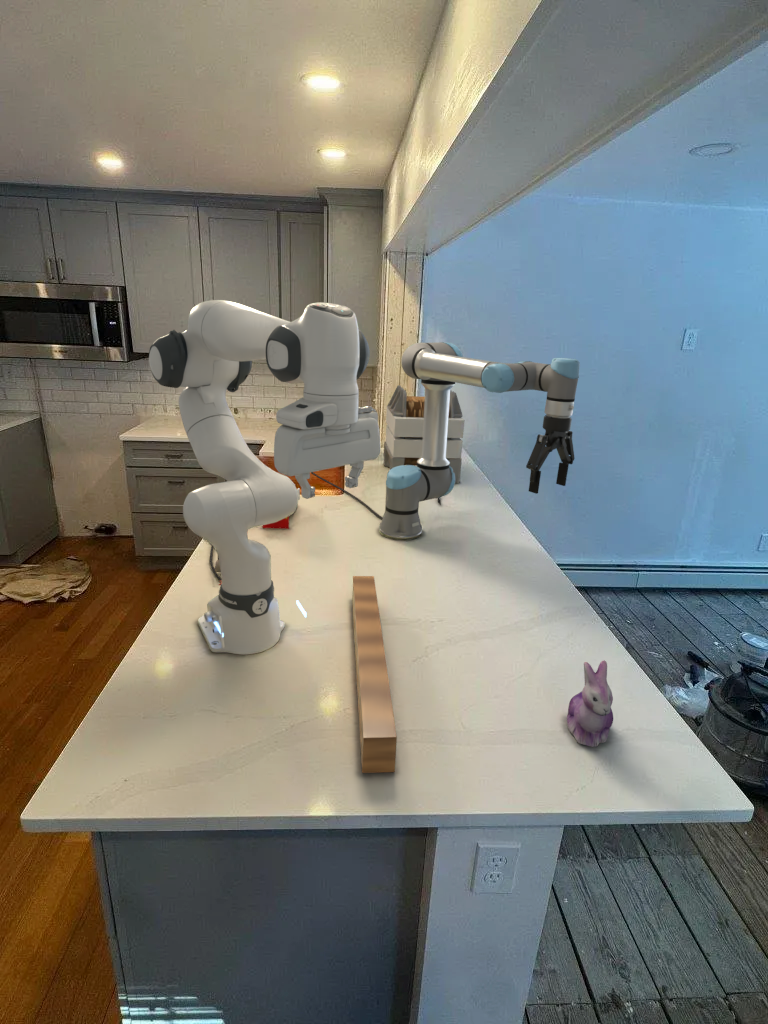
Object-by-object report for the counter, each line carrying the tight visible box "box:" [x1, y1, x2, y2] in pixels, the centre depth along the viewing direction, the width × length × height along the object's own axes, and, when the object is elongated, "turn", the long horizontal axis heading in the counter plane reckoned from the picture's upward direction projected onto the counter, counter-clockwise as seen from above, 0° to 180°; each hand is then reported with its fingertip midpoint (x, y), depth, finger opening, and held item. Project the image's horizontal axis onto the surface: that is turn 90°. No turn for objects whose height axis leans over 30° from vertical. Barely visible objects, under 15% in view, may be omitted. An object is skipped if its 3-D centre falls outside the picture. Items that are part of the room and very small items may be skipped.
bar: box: [351, 575, 398, 774], centre depth 124 cm, size 60×6×8 cm, turn 5°
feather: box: [437, 497, 442, 506], centre depth 243 cm, size 2×28×2 cm
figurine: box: [566, 660, 614, 748], centre depth 106 cm, size 9×10×15 cm
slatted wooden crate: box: [383, 384, 465, 484], centre depth 268 cm, size 34×33×41 cm
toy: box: [262, 483, 301, 530], centre depth 210 cm, size 12×13×30 cm
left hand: (330, 492), depth 96 cm, fingers open, 8 cm apart
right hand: (547, 488), depth 165 cm, fingers open, 13 cm apart
